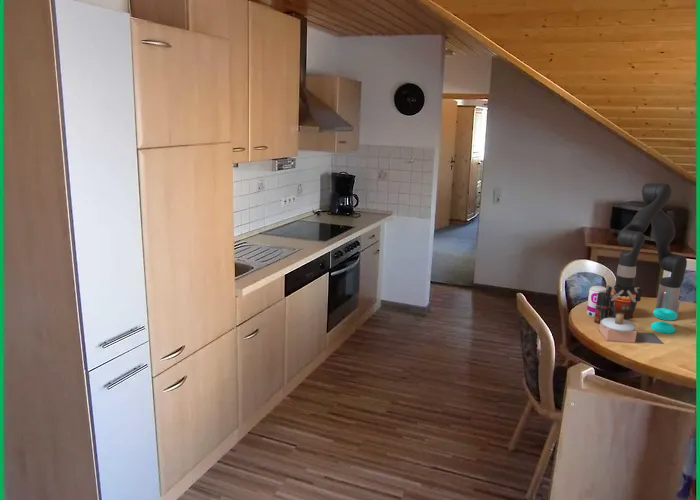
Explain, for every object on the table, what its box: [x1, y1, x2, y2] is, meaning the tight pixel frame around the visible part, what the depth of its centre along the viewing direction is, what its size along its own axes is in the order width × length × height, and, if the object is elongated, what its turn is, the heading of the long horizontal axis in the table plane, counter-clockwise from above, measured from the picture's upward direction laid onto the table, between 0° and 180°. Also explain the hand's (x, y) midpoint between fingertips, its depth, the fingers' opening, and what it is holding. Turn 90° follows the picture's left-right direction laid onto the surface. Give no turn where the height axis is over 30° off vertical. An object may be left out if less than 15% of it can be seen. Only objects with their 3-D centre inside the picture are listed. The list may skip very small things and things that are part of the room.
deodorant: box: [593, 292, 611, 325], centre depth 268 cm, size 6×6×15 cm
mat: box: [635, 331, 665, 345], centre depth 252 cm, size 12×12×1 cm
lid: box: [602, 313, 637, 332], centre depth 250 cm, size 14×14×6 cm
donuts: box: [650, 308, 678, 334], centre depth 261 cm, size 10×10×10 cm
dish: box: [598, 320, 638, 344], centre depth 252 cm, size 12×12×6 cm
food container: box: [608, 289, 638, 320], centre depth 281 cm, size 16×16×11 cm
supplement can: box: [586, 285, 607, 319], centre depth 278 cm, size 8×8×15 cm
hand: (621, 308), depth 249 cm, fingers open, 8 cm apart
